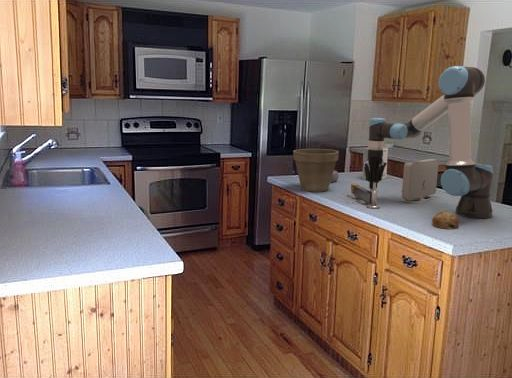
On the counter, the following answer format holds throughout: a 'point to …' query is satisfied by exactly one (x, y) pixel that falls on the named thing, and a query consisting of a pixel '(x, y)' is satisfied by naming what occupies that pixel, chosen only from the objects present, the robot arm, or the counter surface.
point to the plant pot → (315, 168)
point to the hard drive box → (385, 154)
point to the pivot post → (374, 201)
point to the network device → (419, 180)
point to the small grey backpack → (334, 176)
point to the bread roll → (445, 220)
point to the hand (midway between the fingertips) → (372, 194)
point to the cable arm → (361, 192)
